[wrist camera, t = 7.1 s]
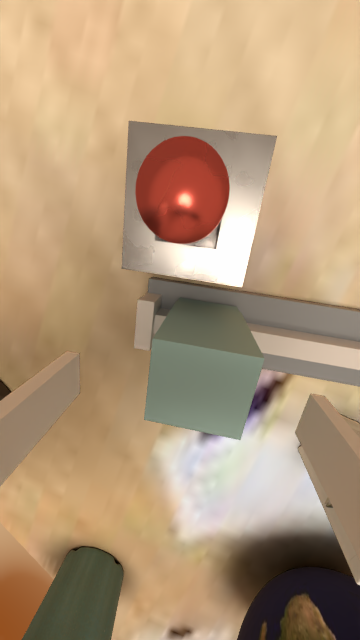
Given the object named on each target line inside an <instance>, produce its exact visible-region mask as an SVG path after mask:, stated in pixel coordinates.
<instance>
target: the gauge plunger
mask: <svg viewBox="0 0 360 640" xmlns="http://www.w3.org/2000/svg"><path fill="white" fill-rule="evenodd" d="M229 193H230V184H229V176H228V172H227V169H226V166H225V164H224V162H223V160H222V158H221V157H220V155H219V154H218V152H217V151H216V150H215V149H214V148H213V147H212V146H211V145H209V144H208V143H207V142H205V141H203V140H201V139H198V138H196V137H191V136H177V137H173V138H169V139H167V140H165V141H163V142H161V143H160V144H158V145H157V146H156V147H154V148H153V149H152V150H151V151H150V153H149V154H148V155H147V156H146V158H145V159H144V161H143V163H142V165H141V167H140V169H139V172H138V175H137V180H136V187H135V195H136V203H137V207H138V210H139V213H140V215H141V218H142V220H143V221H144V223H145V224H146V226H147V227H148V228H149V229H150V230H151V231H152V232H153V233H154V234H155V235H157V236H158V237H160V238H161V239H163V240H166V241H168V242H172V243H177V244H190V243H195V242H197V241H200V240H202V239H204V238H205V237H207V236H208V235H209V234H211V233H212V232H213V231H214V230H215V228H216V227H217V226H218V224H219V223H220V221H221V219H222V217H223V215H224V213H225V210H226V207H227V204H228V200H229Z"/></svg>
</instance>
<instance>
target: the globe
mask: <svg viewBox="0 0 360 640" xmlns="http://www.w3.org/2000/svg"><path fill="white" fill-rule="evenodd" d="M237 640H360V585H358V584H357V583H356V581H355V579H354V578H353V577H351V576H348V575H346V574H343V573H341V572H337V571H334V570H330V569H325V568H320V567H301V568H295V569H292V570H288V571H286V572H284V573H282V574H280V575H278V576H276V577H275V578H273V579H272V580H271V581H269V582H268V583H267V584H266V585H265V586H264V587H263V588H262V589H261V591H260V592H259V593H258V595H257V596H256V597H255V599H254V600H253V602H252V604H251V606H250V607H249V609H248V611H247V614H246V616H245V618H244V620H243V623H242V626H241V628H240V632H239V635H238V638H237Z"/></svg>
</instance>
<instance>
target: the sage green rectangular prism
mask: <svg viewBox="0 0 360 640" xmlns="http://www.w3.org/2000/svg"><path fill="white" fill-rule="evenodd" d="M264 359H265V358H264V356H263V354H262V352H261V350H260V349H259V347H258V345H257V343H256V341H255V339H254V337H253V335H252V333H251V331H250V329H249V327H248V325H247V323H246V321H245V319H244V317H243V315H242V313H241V312H239V310H238V308H237V307H235V306H229V305H223V304H217V303H211V302H205V301H198V300H192V299H186V298H180V297H179V299H178V301H176V302H175V304H174V305H173V307H172V309H171V310H170V312H169V313H168V315H167V317H166V318H165V320H164V321H163V323H162V324H161V326H160V328H159V329H158V331H157V332H156V334H155V335H154V337H153V340H152V349H151V359H150V368H149V378H148V387H147V397H146V407H145V416H144V420H148V421H152V422H157V423H162V424H167V425H171V426H176V427H181V428H186V429H190V430H195V431H200V432H205V433H209V434H214V435H219V436H224V437H229V438H233V439H238V440H241V436H242V433H243V429H244V426H245V423H246V419H247V416H248V413H249V409H250V406H251V403H252V399H253V396H254V393H255V389H256V386H257V382H258V379H259V376H260V372H261V369H262V366H263V362H264Z"/></svg>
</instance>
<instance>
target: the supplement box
mask: <svg viewBox="0 0 360 640" xmlns="http://www.w3.org/2000/svg"><path fill="white" fill-rule="evenodd" d="M341 416H342V415H341ZM342 417H343V419H344V420H345V421H346V422H347V423H348V425H349V426H350V427H351V428H352V429H353V431H354V432H355V433H356V434H357V435H358V437H359V438H360V423H358V422H356V421H354V420H351V419H349V418H347V417H345V416H342ZM298 451H299V453H300V455H301V458H302V460H303V462H304V465H305V467H306V469H307V471H308V474H309V476H310V478H311V481H312V483H313V485H314V487H315V490H316V492H317V494H318V497H319V499H320V501H321V503H322V506H323V508H324V510H325V513H326V515H327V517H328V519H329V522H330V524H331V526H332V529H333V531H334V533H335V535H336V538H337V540H338V542H339V544H340V547H341V549H342V551H343V554H344V556H345V558H346V560H347V563H348V565H349V567H350V570H351V572H352V574H353V576H354V579H355V581H356V583H357V584H358V585H360V560H359V558H358V556H357V554H356V552H355V550H354V548H353V546H352V544H351V542H350V540H349V538H348V536H347V534H346V532H345V530H344V528H343V526H342V524H341V522H340V520H339V518H338V516H337V514H336V512H335V510H334V508H333V506H332V504H331V502H330V500H329V498H328V496H327V494H326V493H325V491H324V489H323V487H322V485H321V483H320V481H319V479H318V477H317V475H316V473H315V471H314V469H313V467H312V465H311V463H310V461H309V459H308V457H307V455H306V453H305V451H304V449H303V447H302V445H301V446H300V447H299V448H298Z"/></svg>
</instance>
